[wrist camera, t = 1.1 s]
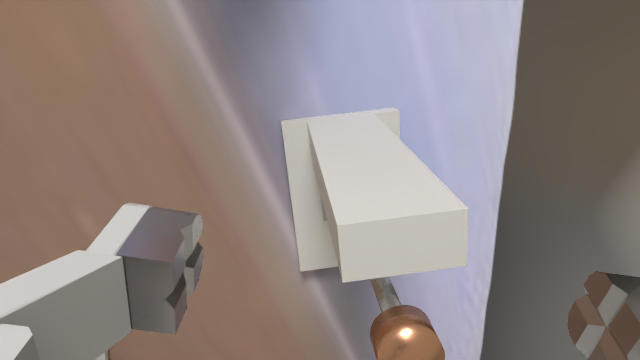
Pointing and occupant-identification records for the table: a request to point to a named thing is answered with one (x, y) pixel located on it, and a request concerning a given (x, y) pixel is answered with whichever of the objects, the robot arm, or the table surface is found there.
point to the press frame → (368, 199)
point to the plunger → (401, 328)
